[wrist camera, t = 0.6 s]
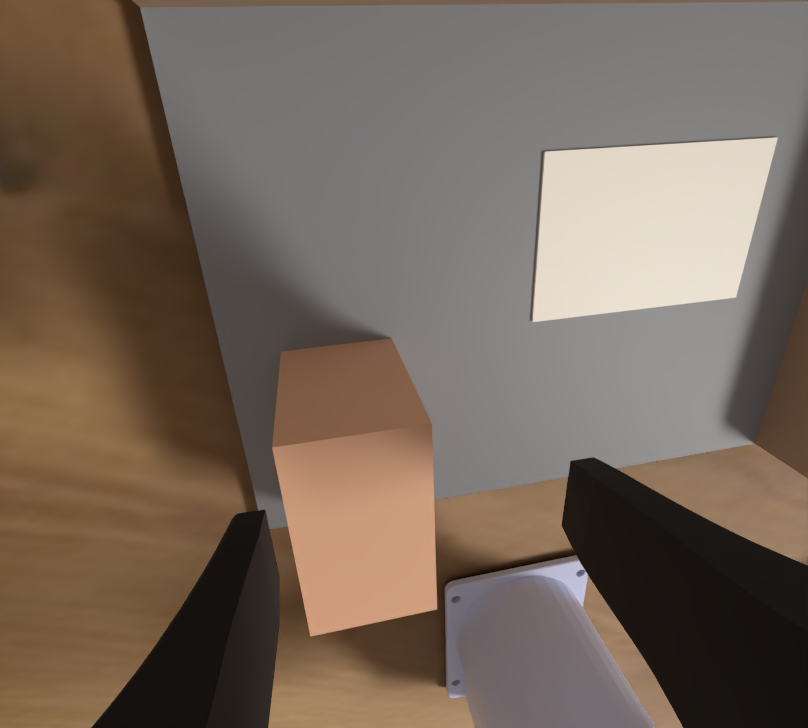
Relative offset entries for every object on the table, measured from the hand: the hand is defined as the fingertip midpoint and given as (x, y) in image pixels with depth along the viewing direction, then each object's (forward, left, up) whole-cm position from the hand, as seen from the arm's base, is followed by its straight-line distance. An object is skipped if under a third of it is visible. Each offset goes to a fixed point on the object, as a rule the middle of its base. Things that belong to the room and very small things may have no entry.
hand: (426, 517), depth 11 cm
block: (-2, +1, -8) cm, 8 cm away
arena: (+3, -7, -9) cm, 12 cm away
